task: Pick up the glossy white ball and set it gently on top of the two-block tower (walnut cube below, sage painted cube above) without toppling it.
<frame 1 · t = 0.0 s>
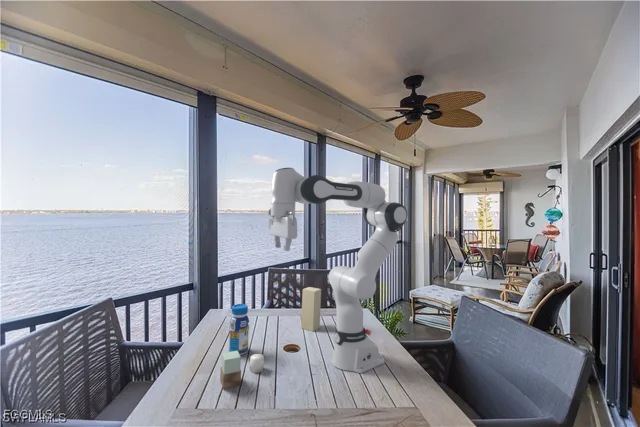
hand: (282, 249, 111), 48 cm above the table, fingers open, 8 cm apart
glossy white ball: (256, 369, 117), on the table
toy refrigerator: (310, 328, 161), on the table
tower base: (230, 383, 108), on the table, touching tower top
tower top: (230, 369, 108), point 5 cm above the table, touching tower base
beverage bottle: (238, 352, 132), on the table
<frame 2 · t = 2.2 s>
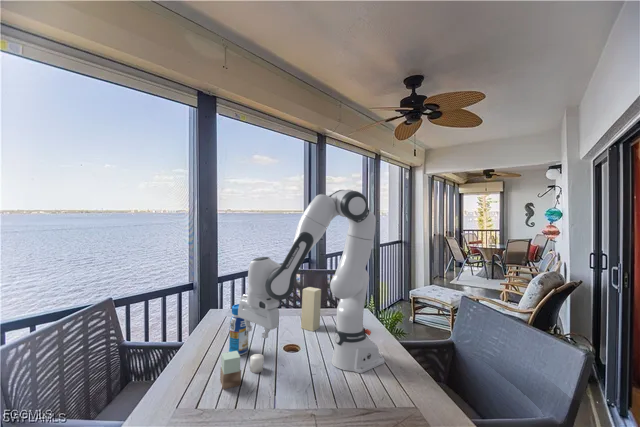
hand: (256, 334, 117), 14 cm above the table, fingers open, 8 cm apart
nothing on the table moved.
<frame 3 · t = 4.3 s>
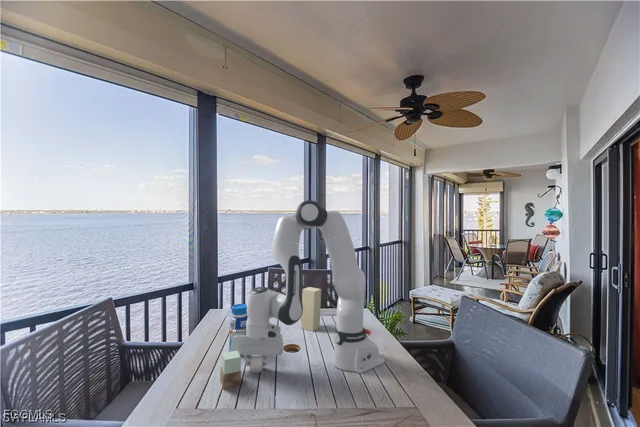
hand: (256, 365, 117), 2 cm above the table, fingers closed on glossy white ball, 5 cm apart
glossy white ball: (256, 369, 117), on the table, touching gripper
everything else where it was.
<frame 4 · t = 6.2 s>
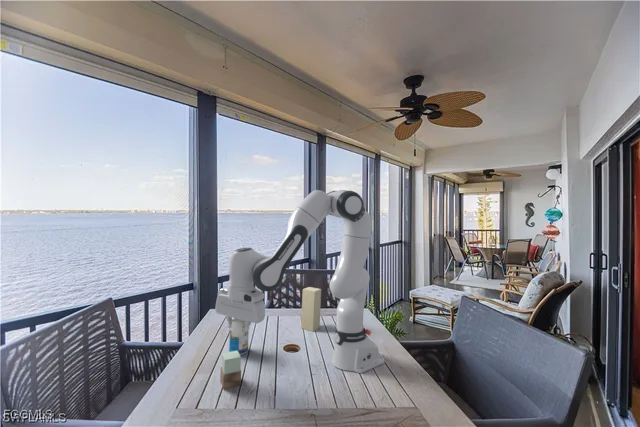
hand: (238, 329, 110), 18 cm above the table, fingers closed on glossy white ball, 5 cm apart
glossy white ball: (238, 334, 110), point 16 cm above the table, touching gripper
everything else where it was.
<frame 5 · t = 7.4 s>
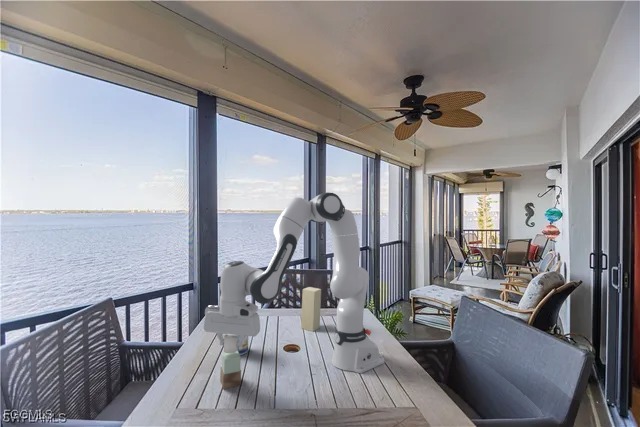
hand: (231, 345, 108), 13 cm above the table, fingers closed on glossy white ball, 5 cm apart
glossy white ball: (230, 350, 108), point 12 cm above the table, touching gripper
everything else where it was.
when the fingers open (12 cm above the table, at t = 8.4 s): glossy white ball stays where it is, resting on tower top.
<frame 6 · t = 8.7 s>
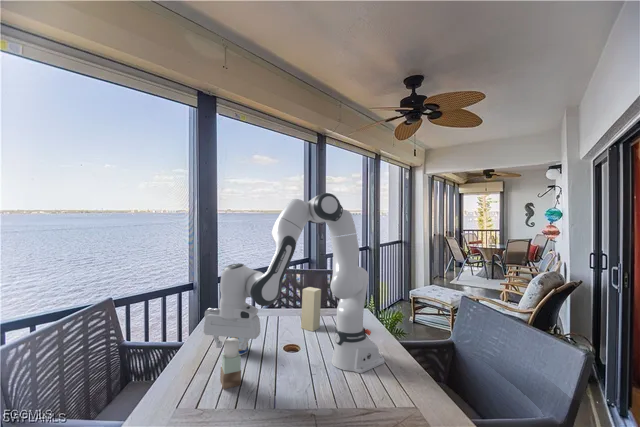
hand: (231, 348, 108), 12 cm above the table, fingers open, 8 cm apart
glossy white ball: (231, 354, 108), point 10 cm above the table, touching tower top
tower top: (230, 368, 108), point 5 cm above the table, touching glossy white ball, tower base
everything else where it was.
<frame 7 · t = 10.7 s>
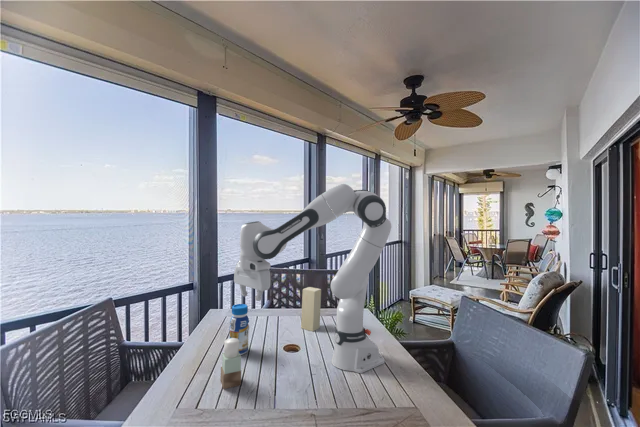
hand: (251, 298, 118), 28 cm above the table, fingers open, 8 cm apart
nothing on the table moved.
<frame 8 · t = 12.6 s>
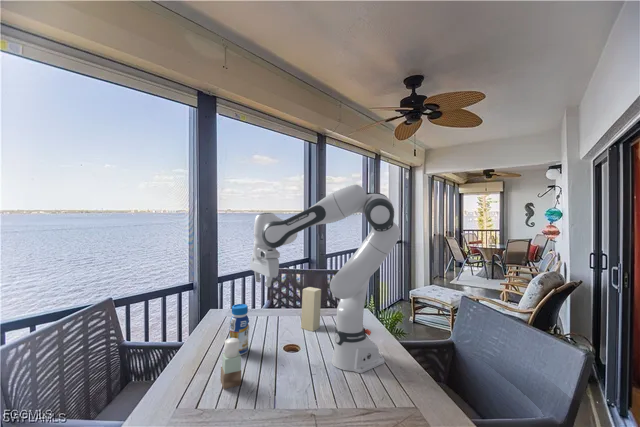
hand: (262, 284, 126), 31 cm above the table, fingers open, 8 cm apart
nothing on the table moved.
at the end: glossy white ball 0.1 cm off-centre on the tower top, point 5.0 cm above the tower top's base; tower top tilted 0°; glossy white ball point 9.9 cm above the table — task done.
